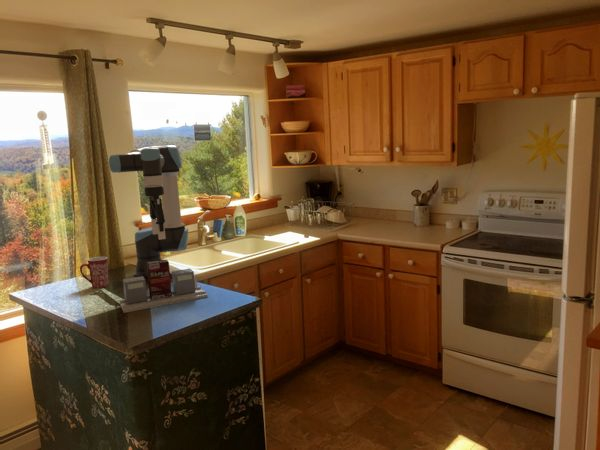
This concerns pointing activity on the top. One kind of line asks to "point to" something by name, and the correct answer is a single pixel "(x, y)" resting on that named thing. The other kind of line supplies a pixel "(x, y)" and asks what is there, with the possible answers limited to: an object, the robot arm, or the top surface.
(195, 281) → the block
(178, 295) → the rail base
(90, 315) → the top surface
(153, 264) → the supplement box
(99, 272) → the mug
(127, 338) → the top surface
